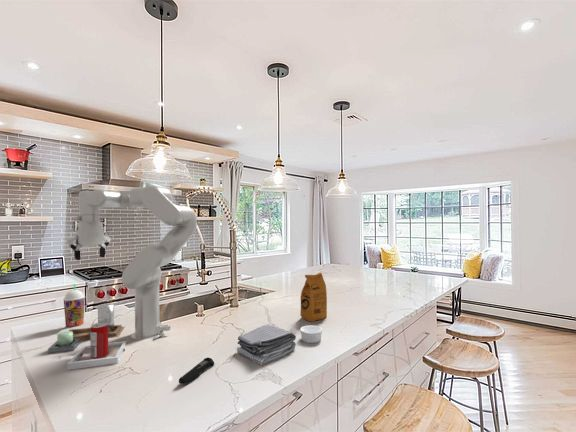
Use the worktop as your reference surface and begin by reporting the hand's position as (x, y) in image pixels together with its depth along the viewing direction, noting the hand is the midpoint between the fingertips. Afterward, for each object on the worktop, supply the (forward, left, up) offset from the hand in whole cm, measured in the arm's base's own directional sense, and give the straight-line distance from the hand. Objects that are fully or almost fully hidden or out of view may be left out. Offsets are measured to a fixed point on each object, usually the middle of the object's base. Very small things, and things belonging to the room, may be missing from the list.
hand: (90, 258), depth 136 cm
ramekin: (-89, +36, -33) cm, 101 cm away
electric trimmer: (-44, +51, -34) cm, 75 cm away
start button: (+4, +17, -30) cm, 35 cm away
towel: (-69, +41, -34) cm, 87 cm away
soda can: (-10, +27, -33) cm, 44 cm away
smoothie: (+10, -12, -33) cm, 37 cm away
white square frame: (-10, +27, -33) cm, 44 cm away
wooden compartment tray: (-2, +5, -33) cm, 33 cm away
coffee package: (-100, +11, -33) cm, 106 cm away
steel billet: (-7, +5, -32) cm, 33 cm away
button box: (+4, +17, -33) cm, 37 cm away
